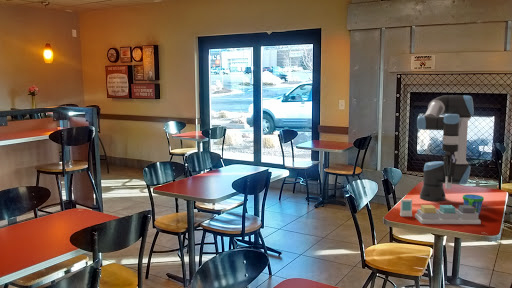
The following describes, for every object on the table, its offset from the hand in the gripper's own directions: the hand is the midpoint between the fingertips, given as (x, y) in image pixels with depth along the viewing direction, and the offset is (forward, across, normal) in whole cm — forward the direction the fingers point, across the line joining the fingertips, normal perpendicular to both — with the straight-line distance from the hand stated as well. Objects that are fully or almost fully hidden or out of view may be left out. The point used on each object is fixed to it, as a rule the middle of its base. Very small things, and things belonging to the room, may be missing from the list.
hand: (448, 188), depth 247 cm
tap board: (+18, 0, 0) cm, 18 cm away
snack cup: (+18, -12, +18) cm, 28 cm away
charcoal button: (+14, 0, +10) cm, 17 cm away
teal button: (+14, 0, 0) cm, 14 cm away
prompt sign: (+18, -9, -19) cm, 27 cm away
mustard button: (+14, 0, -10) cm, 17 cm away
